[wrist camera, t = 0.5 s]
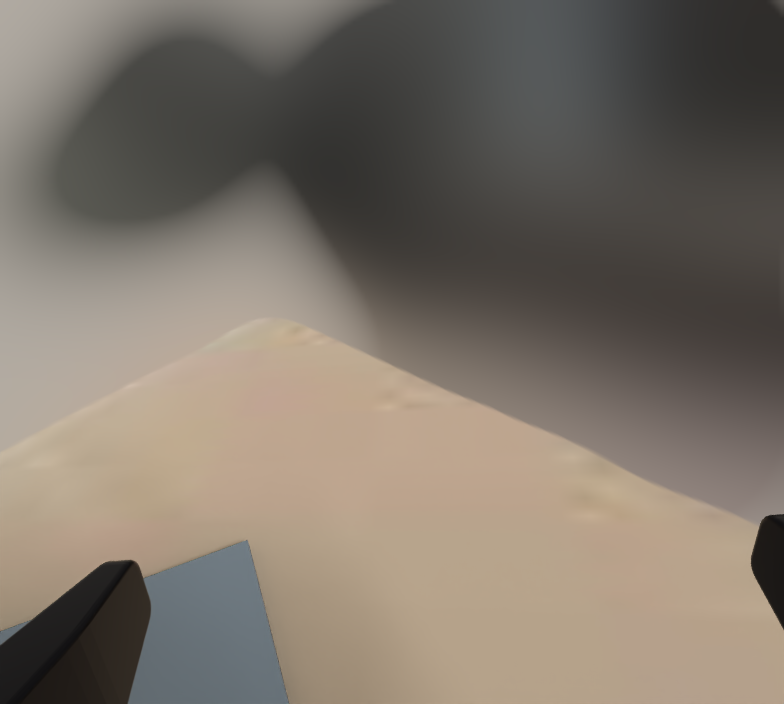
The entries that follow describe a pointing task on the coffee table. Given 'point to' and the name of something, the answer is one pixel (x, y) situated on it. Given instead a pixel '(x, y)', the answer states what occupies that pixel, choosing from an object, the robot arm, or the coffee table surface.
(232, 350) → the coffee table surface
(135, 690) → the mat
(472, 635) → the coffee table surface
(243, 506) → the coffee table surface
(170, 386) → the coffee table surface
